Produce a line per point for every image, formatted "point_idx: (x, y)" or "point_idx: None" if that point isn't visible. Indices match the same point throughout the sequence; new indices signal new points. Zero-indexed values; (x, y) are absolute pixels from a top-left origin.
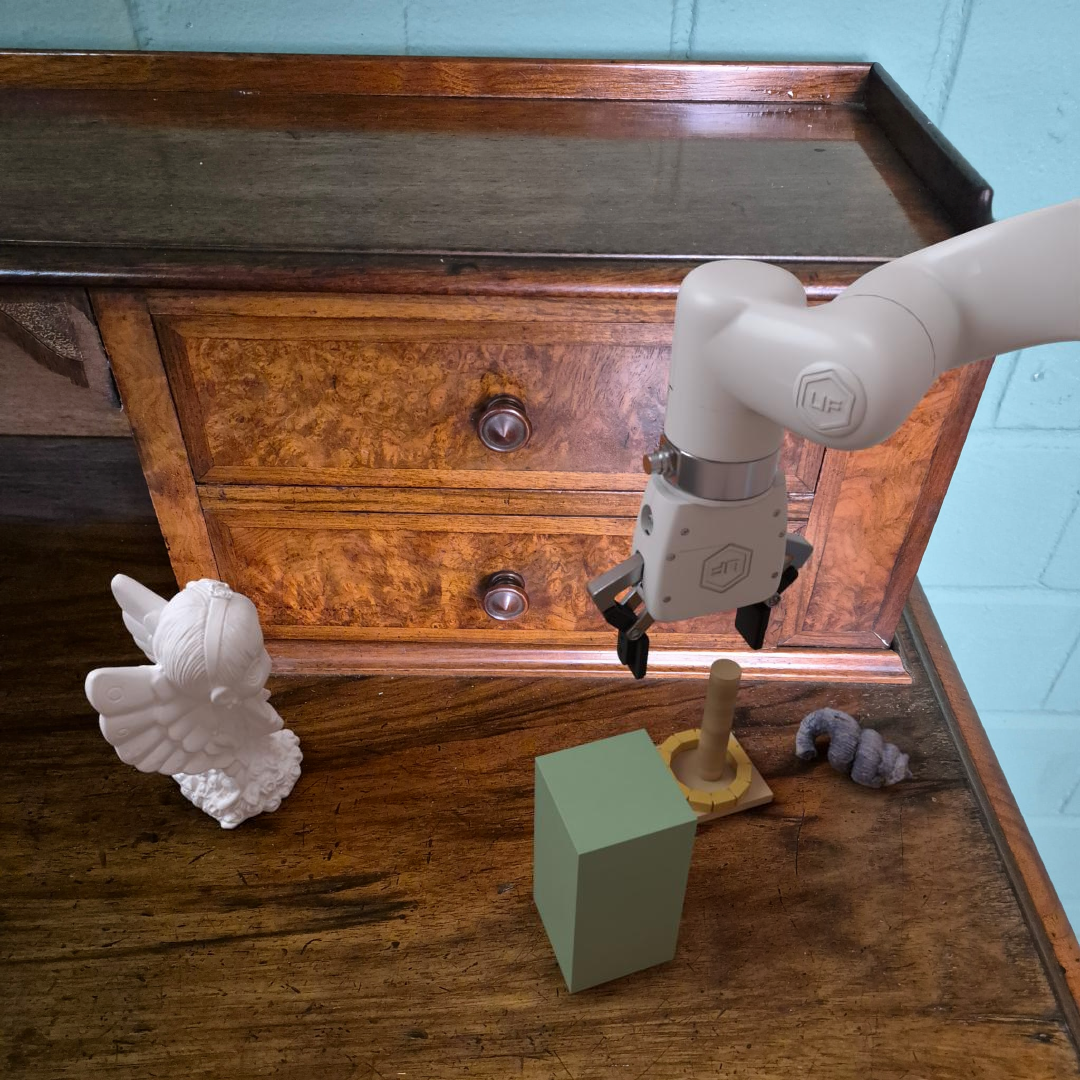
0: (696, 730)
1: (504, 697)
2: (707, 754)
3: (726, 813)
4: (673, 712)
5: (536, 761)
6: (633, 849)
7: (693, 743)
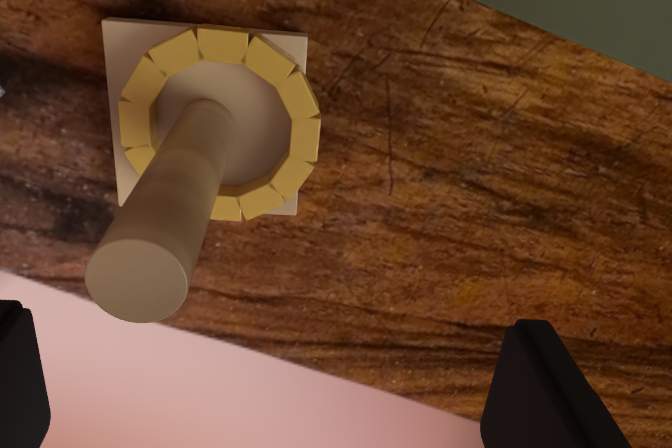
0: None
1: (451, 383)
2: (220, 135)
3: None
4: (199, 272)
5: None
6: None
7: None
